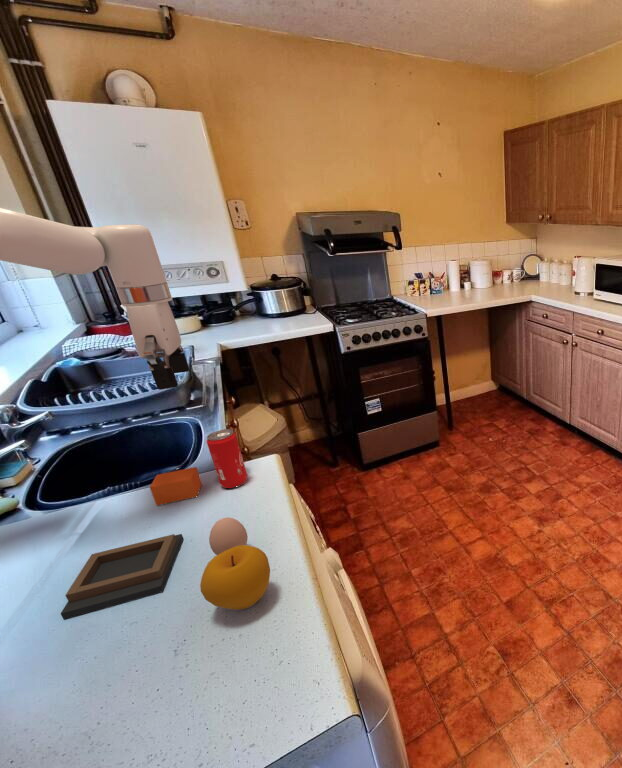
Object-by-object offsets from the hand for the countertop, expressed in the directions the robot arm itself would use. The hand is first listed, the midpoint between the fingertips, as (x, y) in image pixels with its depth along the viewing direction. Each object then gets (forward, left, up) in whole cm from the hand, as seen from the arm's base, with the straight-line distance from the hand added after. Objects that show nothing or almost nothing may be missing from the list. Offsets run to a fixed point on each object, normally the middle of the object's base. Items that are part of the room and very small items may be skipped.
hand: (174, 379), depth 88 cm
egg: (+9, -29, -24) cm, 39 cm away
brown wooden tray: (-6, -27, -24) cm, 37 cm away
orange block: (-4, -4, -24) cm, 25 cm away
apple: (+12, -41, -24) cm, 49 cm away
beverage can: (+6, -4, -24) cm, 25 cm away
